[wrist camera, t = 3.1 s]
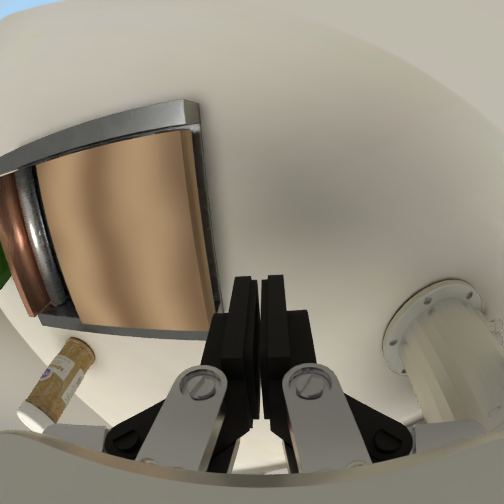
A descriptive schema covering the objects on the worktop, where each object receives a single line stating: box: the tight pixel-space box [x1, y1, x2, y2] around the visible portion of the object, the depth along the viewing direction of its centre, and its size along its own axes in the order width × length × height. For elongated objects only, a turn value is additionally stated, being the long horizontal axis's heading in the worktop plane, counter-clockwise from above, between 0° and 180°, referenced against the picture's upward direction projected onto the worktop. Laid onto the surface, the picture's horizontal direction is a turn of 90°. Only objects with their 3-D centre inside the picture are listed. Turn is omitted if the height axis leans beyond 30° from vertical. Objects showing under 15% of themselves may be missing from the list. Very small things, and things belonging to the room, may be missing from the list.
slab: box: [36, 130, 216, 331], centre depth 20 cm, size 12×14×2 cm
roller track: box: [0, 99, 224, 341], centre depth 21 cm, size 20×18×5 cm
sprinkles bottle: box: [17, 338, 94, 434], centre depth 25 cm, size 5×5×14 cm
